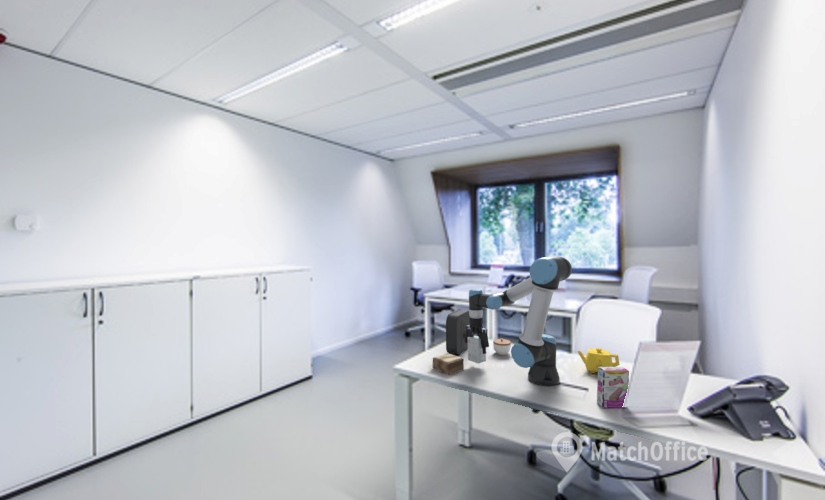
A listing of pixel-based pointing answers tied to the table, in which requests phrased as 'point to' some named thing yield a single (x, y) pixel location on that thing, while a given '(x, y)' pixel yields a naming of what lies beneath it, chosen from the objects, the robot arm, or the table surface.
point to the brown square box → (448, 363)
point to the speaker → (457, 331)
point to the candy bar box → (612, 386)
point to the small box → (475, 349)
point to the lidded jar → (501, 346)
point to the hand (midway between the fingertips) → (476, 357)
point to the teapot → (598, 359)
